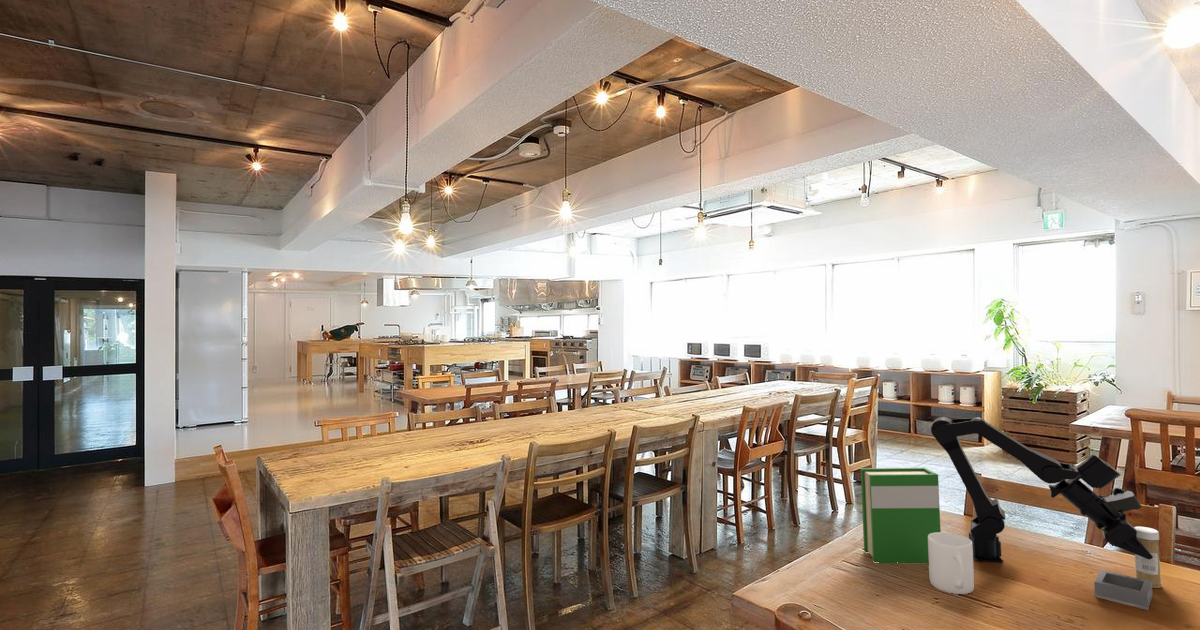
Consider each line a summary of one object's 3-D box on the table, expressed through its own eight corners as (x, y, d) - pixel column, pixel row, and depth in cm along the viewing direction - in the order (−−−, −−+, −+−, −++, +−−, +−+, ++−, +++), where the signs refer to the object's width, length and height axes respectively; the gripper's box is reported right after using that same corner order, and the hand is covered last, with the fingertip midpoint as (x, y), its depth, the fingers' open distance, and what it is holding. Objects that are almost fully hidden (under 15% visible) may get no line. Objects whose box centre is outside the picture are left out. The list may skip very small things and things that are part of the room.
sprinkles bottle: (1163, 585, 138) (1161, 529, 138) (1158, 590, 135) (1155, 533, 136) (1138, 578, 142) (1136, 524, 142) (1132, 583, 139) (1130, 528, 139)
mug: (957, 576, 146) (955, 531, 146) (991, 599, 134) (989, 549, 134) (921, 579, 146) (919, 533, 146) (952, 602, 134) (950, 551, 134)
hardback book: (874, 563, 156) (870, 475, 156) (864, 552, 163) (860, 468, 163) (941, 563, 154) (938, 474, 154) (928, 552, 161) (925, 467, 162)
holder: (1147, 610, 127) (1147, 594, 127) (1094, 596, 134) (1094, 581, 134) (1152, 596, 133) (1151, 581, 133) (1101, 584, 140) (1100, 569, 140)
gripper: (1121, 489, 134) (1189, 545, 128) (1106, 471, 150) (1167, 519, 143) (1079, 518, 139) (1144, 573, 132) (1069, 497, 154) (1127, 545, 148)
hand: (1146, 551), depth 139 cm, fingers open, 9 cm apart
